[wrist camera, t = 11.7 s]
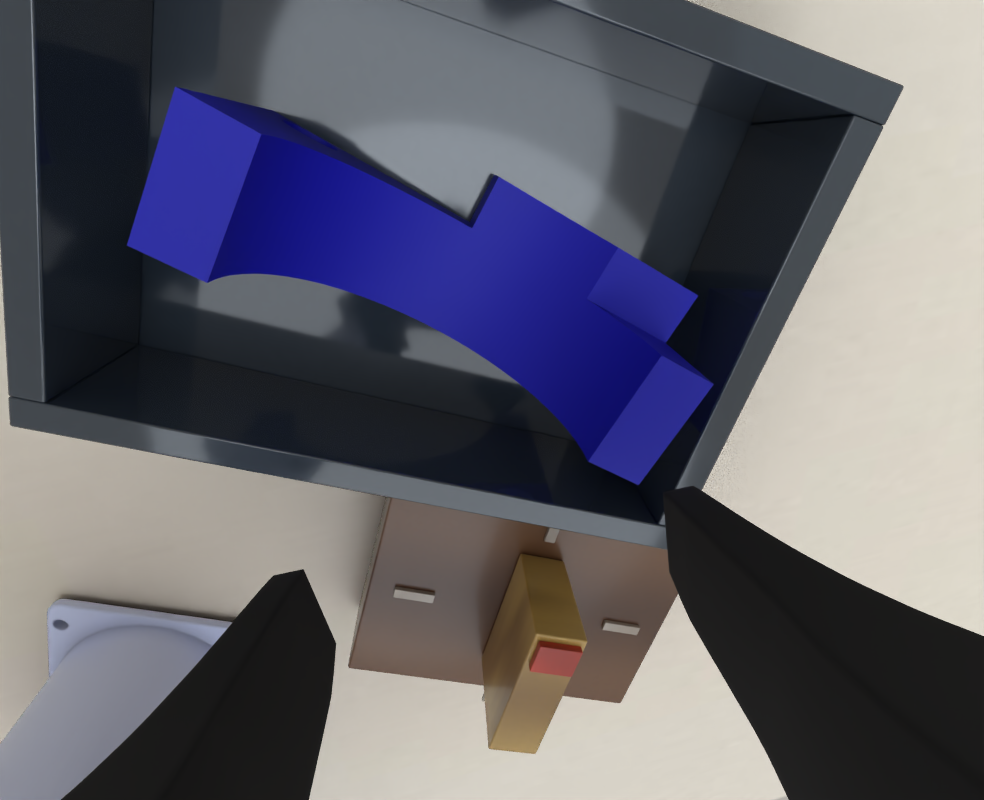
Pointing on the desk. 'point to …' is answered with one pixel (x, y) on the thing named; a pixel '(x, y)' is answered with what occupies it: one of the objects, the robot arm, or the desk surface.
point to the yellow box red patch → (530, 654)
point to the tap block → (500, 596)
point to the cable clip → (431, 268)
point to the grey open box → (439, 177)
